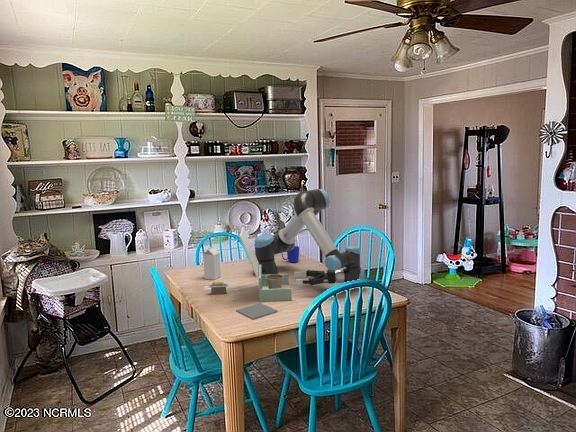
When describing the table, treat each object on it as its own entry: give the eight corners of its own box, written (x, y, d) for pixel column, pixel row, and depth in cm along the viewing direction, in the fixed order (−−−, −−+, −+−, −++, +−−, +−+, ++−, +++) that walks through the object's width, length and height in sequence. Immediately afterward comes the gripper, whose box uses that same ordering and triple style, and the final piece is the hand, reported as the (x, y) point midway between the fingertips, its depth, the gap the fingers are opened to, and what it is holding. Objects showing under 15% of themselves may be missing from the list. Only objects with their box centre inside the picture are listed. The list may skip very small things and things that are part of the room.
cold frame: (288, 283, 248) (288, 263, 246) (291, 300, 222) (291, 277, 220) (259, 285, 247) (259, 264, 245) (259, 301, 221) (258, 278, 219)
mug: (281, 260, 298) (280, 246, 296) (298, 259, 299) (298, 245, 297) (282, 264, 290) (281, 249, 288) (300, 263, 291) (299, 248, 289)
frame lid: (243, 226, 241) (242, 227, 241) (240, 236, 215) (239, 236, 215) (258, 262, 245) (257, 263, 245) (257, 276, 219) (256, 277, 219)
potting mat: (236, 311, 209) (236, 310, 209) (260, 304, 217) (260, 302, 217) (253, 319, 198) (253, 318, 198) (277, 311, 207) (277, 310, 207)
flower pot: (281, 295, 229) (281, 279, 227) (264, 295, 231) (263, 279, 229) (285, 289, 238) (285, 274, 236) (268, 289, 240) (268, 273, 238)
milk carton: (220, 276, 266) (219, 245, 263) (215, 280, 259) (213, 248, 256) (210, 275, 268) (208, 245, 265) (204, 279, 261) (202, 247, 258)
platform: (204, 291, 241) (203, 279, 240) (237, 289, 242) (236, 278, 241) (200, 298, 229) (199, 286, 228) (235, 297, 230) (234, 285, 229)
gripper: (339, 290, 223) (297, 292, 222) (331, 276, 247) (293, 278, 246) (338, 275, 221) (296, 278, 221) (331, 263, 246) (293, 265, 245)
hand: (295, 278), depth 233 cm, fingers open, 13 cm apart
